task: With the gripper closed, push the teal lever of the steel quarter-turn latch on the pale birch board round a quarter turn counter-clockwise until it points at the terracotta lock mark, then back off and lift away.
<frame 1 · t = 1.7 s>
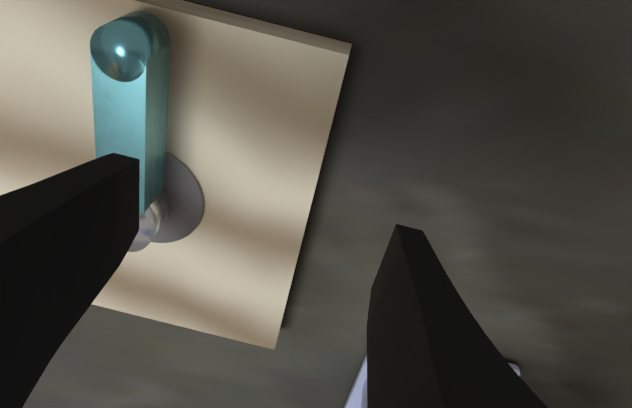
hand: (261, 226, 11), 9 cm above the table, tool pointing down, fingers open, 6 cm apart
bayonet coupling: (132, 142, 18), point 3 cm above the table, hinge at 0.0°
latch board: (119, 166, 22), on the table
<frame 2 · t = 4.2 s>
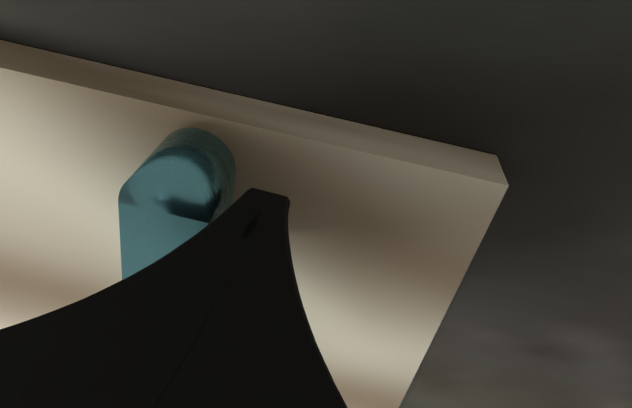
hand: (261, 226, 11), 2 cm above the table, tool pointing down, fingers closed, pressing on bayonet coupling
bayonet coupling: (177, 305, 12), point 3 cm above the table, hinge at 0.0°, touching gripper
latch board: (149, 296, 17), on the table
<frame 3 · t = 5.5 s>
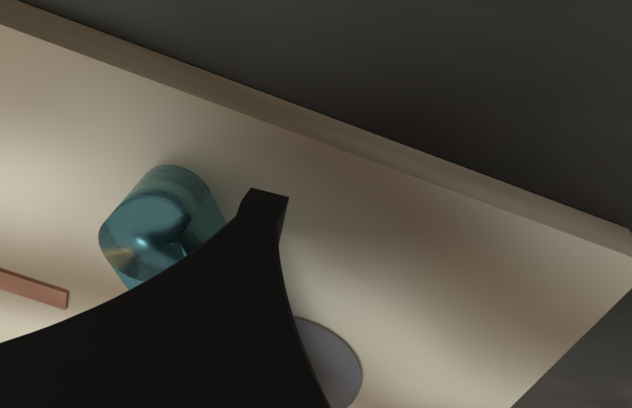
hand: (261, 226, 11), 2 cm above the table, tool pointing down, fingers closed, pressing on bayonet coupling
bayonet coupling: (227, 333, 12), point 3 cm above the table, hinge at 37.7°, touching gripper
latch board: (235, 314, 16), on the table
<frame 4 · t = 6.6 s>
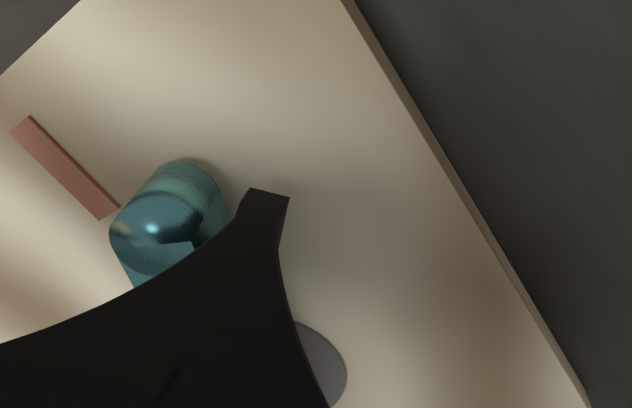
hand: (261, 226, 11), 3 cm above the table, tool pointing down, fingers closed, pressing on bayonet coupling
bayonet coupling: (221, 332, 13), point 3 cm above the table, hinge at 68.4°, touching gripper
latch board: (241, 295, 16), on the table
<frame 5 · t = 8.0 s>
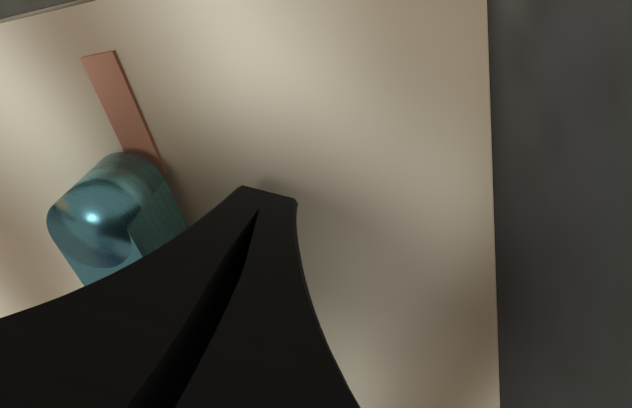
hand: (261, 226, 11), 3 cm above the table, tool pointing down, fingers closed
bayonet coupling: (178, 322, 13), point 3 cm above the table, hinge at 92.7°
latch board: (230, 282, 16), on the table
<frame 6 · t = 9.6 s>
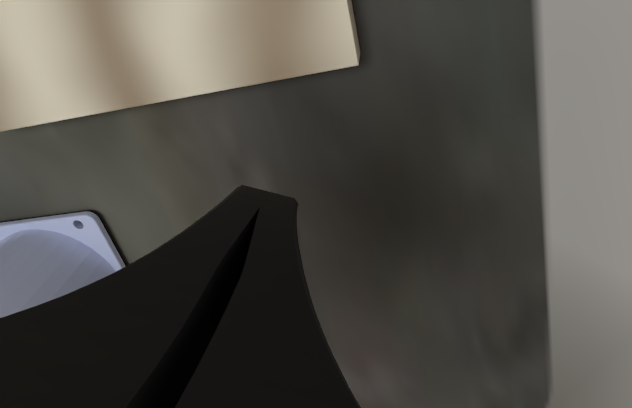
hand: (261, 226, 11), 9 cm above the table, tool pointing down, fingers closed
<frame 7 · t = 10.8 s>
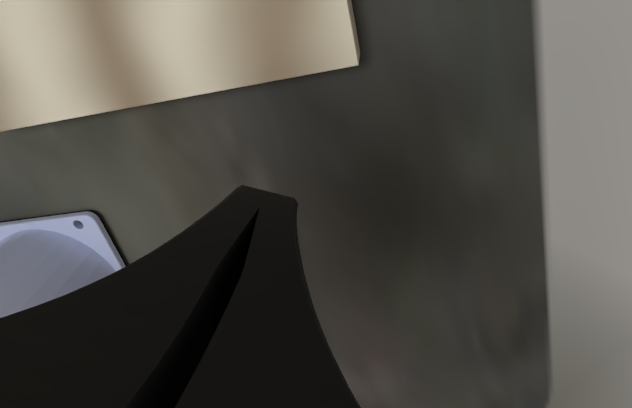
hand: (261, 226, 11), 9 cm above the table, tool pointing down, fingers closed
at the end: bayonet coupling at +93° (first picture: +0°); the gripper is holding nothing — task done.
